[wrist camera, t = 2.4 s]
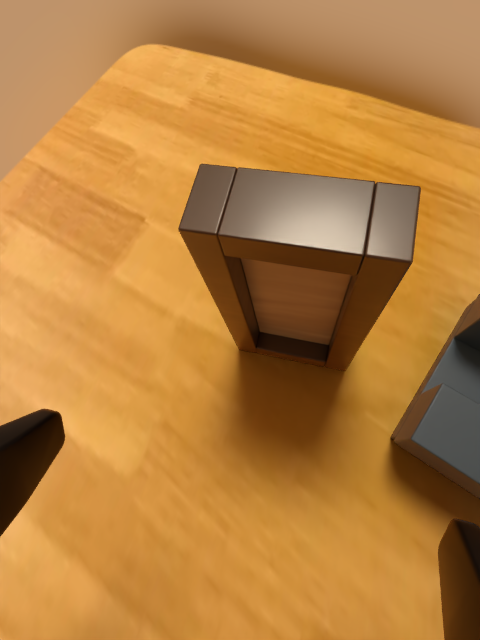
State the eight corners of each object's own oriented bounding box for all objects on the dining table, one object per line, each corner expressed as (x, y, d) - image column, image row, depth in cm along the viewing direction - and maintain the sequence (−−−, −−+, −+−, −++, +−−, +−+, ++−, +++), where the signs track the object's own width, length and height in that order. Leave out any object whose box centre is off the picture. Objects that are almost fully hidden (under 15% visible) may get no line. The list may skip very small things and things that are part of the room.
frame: (345, 371, 21) (413, 263, 9) (238, 349, 23) (177, 229, 11) (351, 332, 22) (421, 185, 10) (247, 313, 24) (199, 162, 11)
